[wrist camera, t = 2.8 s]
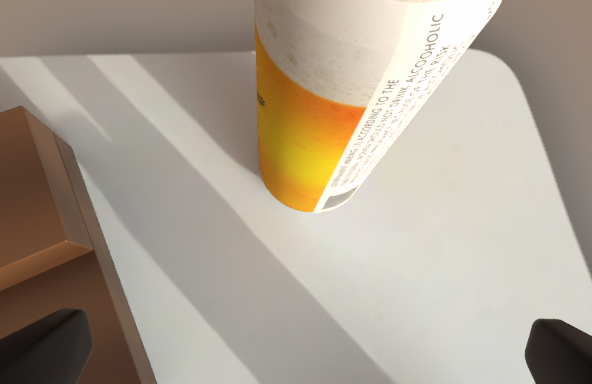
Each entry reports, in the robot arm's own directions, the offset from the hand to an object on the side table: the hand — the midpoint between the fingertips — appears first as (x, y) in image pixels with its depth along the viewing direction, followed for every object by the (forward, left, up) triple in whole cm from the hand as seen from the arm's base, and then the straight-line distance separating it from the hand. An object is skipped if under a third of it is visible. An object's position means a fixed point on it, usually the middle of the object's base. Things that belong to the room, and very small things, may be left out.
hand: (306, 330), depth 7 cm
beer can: (+7, -5, -12) cm, 15 cm away
